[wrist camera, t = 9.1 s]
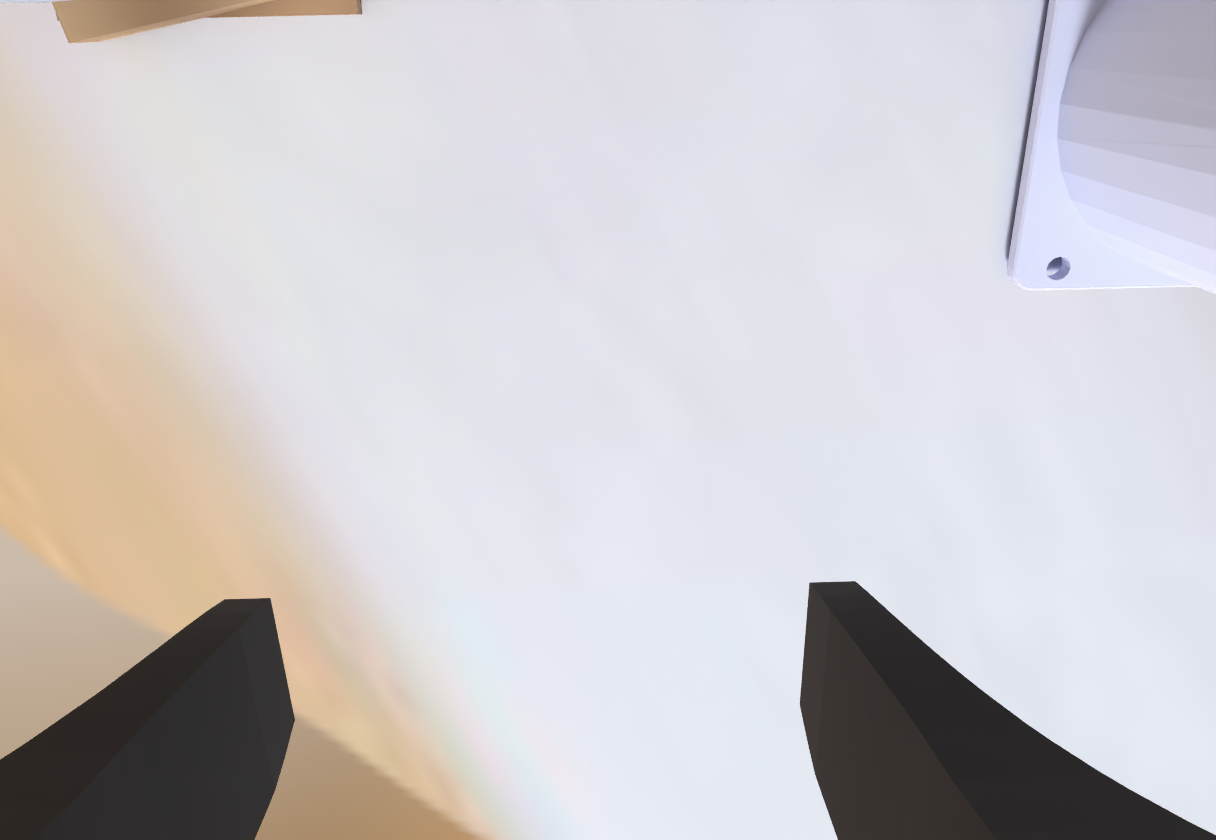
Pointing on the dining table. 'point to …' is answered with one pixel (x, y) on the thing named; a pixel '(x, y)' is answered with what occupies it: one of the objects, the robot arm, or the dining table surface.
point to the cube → (31, 1)
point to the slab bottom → (296, 8)
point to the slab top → (135, 15)
